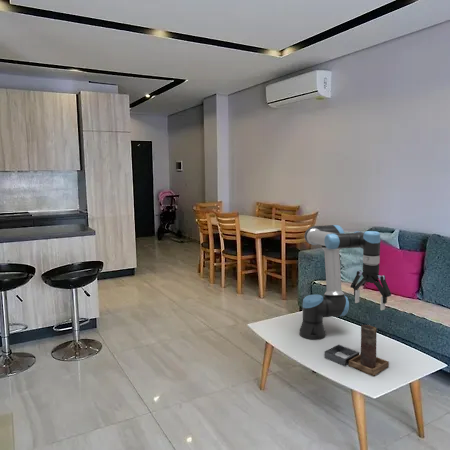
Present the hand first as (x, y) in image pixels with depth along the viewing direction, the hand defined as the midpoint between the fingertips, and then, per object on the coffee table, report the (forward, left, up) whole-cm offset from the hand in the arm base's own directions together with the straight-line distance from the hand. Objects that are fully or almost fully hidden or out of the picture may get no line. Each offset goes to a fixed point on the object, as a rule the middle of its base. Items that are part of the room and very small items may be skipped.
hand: (369, 306), depth 195 cm
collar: (-13, -3, -31) cm, 33 cm away
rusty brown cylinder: (+1, -1, -30) cm, 30 cm away
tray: (+1, -1, -31) cm, 31 cm away
